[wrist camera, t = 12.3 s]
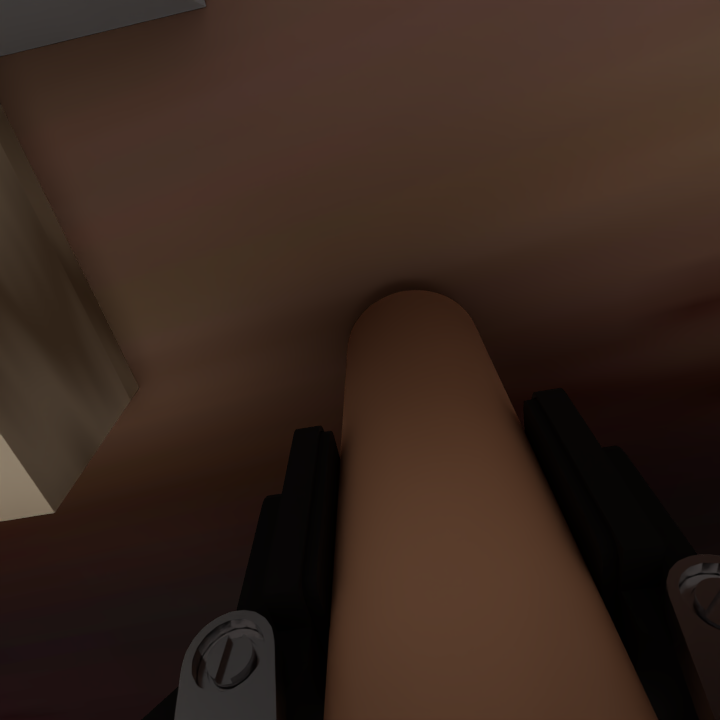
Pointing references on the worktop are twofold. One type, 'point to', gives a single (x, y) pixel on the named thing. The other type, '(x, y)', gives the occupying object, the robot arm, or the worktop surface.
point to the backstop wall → (75, 19)
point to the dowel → (456, 544)
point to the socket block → (48, 350)
